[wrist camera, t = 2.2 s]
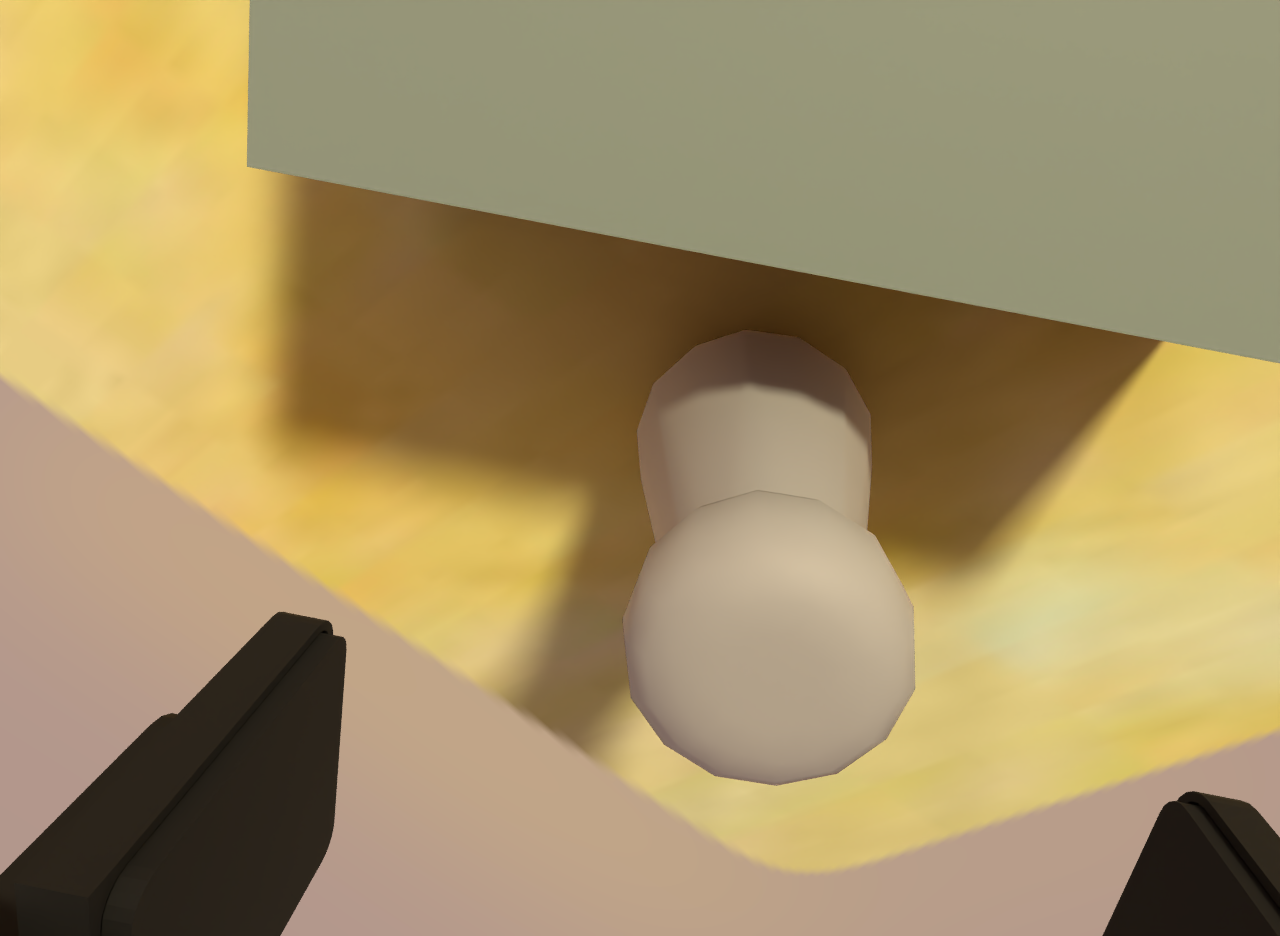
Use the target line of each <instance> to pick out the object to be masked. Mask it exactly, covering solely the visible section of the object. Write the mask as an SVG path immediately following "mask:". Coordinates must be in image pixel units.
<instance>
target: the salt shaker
mask: <svg viewBox="0 0 1280 936" xmlns="http://www.w3.org/2000/svg"><path fill="white" fill-rule="evenodd" d="M637 440H638V451H639V463H640V474H641V482H642V487H643V491H644V495H645V499H646V504H647V508H648V512H649V517H650V521H651V525H652V530H653V534H654V538H655V543H654V544H653V545H652V546H651V547H650V549H649V551H648V554H647V556H646V559H645V562H644V564H643V567H642V569H641V572H640V575H639V577H638V580H637V582H636V585H635V587H634V590H633V593H632V595H631V598H630V600H629V603H628V606H627V608H626V611H625V614H624V616H623V630H624V640H625V649H626V658H627V667H628V676H629V685H630V694H631V699H632V700H633V702H634V703H635V704H636V706H637V707H638V709H639V710H640V711H641V713H642V714H643V716H644V717H645V718H646V720H647V721H648V723H649V724H650V725H651V727H652V728H653V730H654V731H655V733H656V734H657V735H658V737H659V738H660V740H661V741H662V742H663V744H664V745H666V746H667V747H669V748H671V749H672V750H674V751H675V752H677V753H679V754H680V755H682V756H683V757H685V758H687V759H688V760H690V761H692V762H693V763H695V764H696V765H698V766H700V767H701V768H703V769H704V770H706V771H708V772H709V773H711V774H713V775H714V776H718V777H725V778H731V779H737V780H744V781H750V782H756V783H763V784H769V785H776V786H777V785H782V784H787V783H792V782H797V781H802V780H807V779H812V778H817V777H823V776H828V775H833V774H837V773H839V772H840V771H842V770H843V769H844V768H846V767H847V766H849V765H850V764H852V763H853V762H854V761H856V760H857V759H859V758H860V757H861V756H863V755H864V754H866V753H867V752H869V751H870V750H871V749H873V748H874V747H876V746H877V745H879V744H880V743H881V742H883V741H884V740H886V739H887V737H888V735H889V733H890V732H891V730H892V728H893V726H894V725H895V723H896V721H897V720H898V718H899V716H900V714H901V713H902V711H903V709H904V707H905V706H906V704H907V702H908V701H909V699H910V697H911V695H912V694H913V692H914V690H915V651H914V609H913V605H912V603H911V601H910V599H909V597H908V595H907V593H906V591H905V589H904V587H903V585H902V583H901V581H900V579H899V578H898V576H897V574H896V572H895V570H894V569H893V567H892V565H891V563H890V561H889V560H888V558H887V556H886V554H885V553H884V551H883V549H882V547H881V545H880V544H879V542H878V540H877V538H876V536H875V535H874V534H872V533H871V532H869V531H868V530H867V526H868V513H869V500H870V486H871V473H872V445H871V414H870V412H869V410H868V409H867V407H866V405H865V403H864V401H863V399H862V398H861V396H860V394H859V392H858V390H857V389H856V387H855V385H854V383H853V381H852V379H851V378H850V376H849V374H848V372H847V370H846V369H845V368H844V367H842V366H841V365H839V364H838V363H836V362H835V361H833V360H832V359H830V358H829V357H827V356H826V355H824V354H823V353H821V352H820V351H818V350H817V349H815V348H814V347H812V346H811V345H809V344H808V343H806V342H805V341H803V340H802V339H800V338H799V337H795V336H788V335H781V334H774V333H767V332H760V331H753V330H746V329H745V330H742V331H739V332H736V333H733V334H730V335H727V336H724V337H721V338H718V339H714V340H711V341H708V342H705V343H702V344H699V345H696V346H695V347H693V348H692V349H691V350H690V351H689V352H688V353H687V354H685V355H684V356H683V357H682V358H681V359H680V360H679V361H678V362H677V363H676V364H674V365H673V366H672V367H671V368H670V369H669V370H668V371H667V372H666V373H665V374H663V375H662V376H661V377H660V378H659V379H658V380H657V381H656V382H655V383H654V384H653V386H652V389H651V392H650V395H649V398H648V400H647V403H646V406H645V409H644V412H643V415H642V417H641V420H640V423H639V426H638V429H637Z"/></svg>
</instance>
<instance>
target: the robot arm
mask: <svg viewBox="0 0 1280 936" xmlns="http://www.w3.org/2000/svg"><path fill="white" fill-rule="evenodd" d="M345 662H346V641H345V639H344V637H340V636H335V635H333V629H332V624H331V623H330V622H329V621H326V620H321V619H316V618H311V617H306V616H301V615H296V614H291V613H286V612H278V613H277V614H275V615H274V616H273V617H272V618H271V619H270V620H269V621H268V622H267V623H266V624H265V625H264V626H263V627H262V628H261V629H260V630H259V631H258V632H257V633H256V634H255V635H254V636H253V637H252V638H251V639H250V640H249V641H248V642H247V643H246V644H245V645H244V646H243V647H242V648H241V650H240V651H239V652H238V653H237V654H236V655H235V656H234V657H233V658H232V659H231V660H230V661H229V662H228V663H227V664H226V665H225V666H224V667H223V668H222V669H221V670H220V671H219V672H218V673H217V674H216V675H215V676H214V677H213V678H212V679H211V680H210V681H209V683H208V684H207V685H206V686H205V687H204V688H203V689H202V690H201V691H200V692H199V693H198V694H197V695H196V696H195V697H194V698H193V699H192V700H191V701H190V702H189V703H188V704H187V705H186V706H185V707H184V709H182V710H181V712H180V713H178V714H173V713H171V714H167V715H164V716H161V717H160V718H159V719H157V720H156V721H155V722H153V723H152V724H151V725H150V726H149V727H148V728H147V729H146V730H145V731H144V732H143V733H142V734H141V735H140V736H139V737H138V738H137V739H136V740H135V741H134V742H133V743H132V744H131V745H130V746H129V747H128V748H127V749H126V750H125V751H124V752H123V753H122V754H121V755H120V756H119V757H118V758H117V759H116V760H115V761H114V762H113V763H112V764H111V765H110V766H109V767H108V768H107V769H106V770H105V771H104V772H103V773H102V774H101V775H100V776H99V777H98V778H97V779H96V780H95V781H94V782H93V783H92V784H91V785H90V786H89V787H88V788H87V789H86V790H85V791H84V792H83V793H82V794H81V795H80V796H79V797H78V798H77V799H76V800H75V801H74V802H73V803H72V804H71V805H70V806H69V807H68V808H67V809H66V810H65V811H64V812H63V813H62V814H61V815H60V816H59V817H58V818H57V819H56V820H55V821H54V822H53V823H52V824H51V825H50V826H49V827H48V828H47V829H46V830H45V831H44V832H43V833H42V834H41V835H40V836H39V837H38V838H37V839H36V840H35V841H34V842H33V843H32V844H31V845H30V846H29V847H28V848H27V849H26V850H25V851H24V852H23V853H22V854H21V855H20V856H19V857H18V858H17V859H16V860H15V861H14V862H13V863H12V864H11V865H10V866H9V867H8V868H7V869H6V870H5V871H4V872H3V873H2V874H1V875H0V936H280V935H281V934H282V932H283V930H284V928H285V926H286V925H287V923H288V921H289V919H290V918H291V916H292V914H293V912H294V910H295V909H296V907H297V905H298V903H299V901H300V900H301V898H302V896H303V894H304V893H305V891H306V889H307V887H308V885H309V884H310V882H311V880H312V878H313V876H314V875H315V873H316V871H317V869H318V868H319V866H320V864H321V862H322V860H323V858H324V856H325V854H326V852H327V849H328V846H329V843H330V840H331V837H332V832H333V827H334V817H335V803H336V789H337V774H338V761H339V746H340V732H341V718H342V703H343V690H344V689H343V688H344V676H345ZM1103 936H1280V837H1279V836H1278V835H1277V834H1276V833H1275V831H1274V830H1273V829H1272V828H1271V827H1270V826H1269V824H1268V823H1267V822H1266V821H1265V819H1264V818H1263V817H1262V816H1261V815H1260V814H1259V812H1258V811H1257V810H1256V809H1255V808H1253V807H1252V806H1251V805H1250V804H1249V803H1246V802H1243V801H1240V800H1235V799H1230V798H1225V797H1220V796H1214V795H1210V794H1204V793H1199V792H1194V791H1192V792H1186V793H1185V794H1183V795H1182V796H1181V797H1179V799H1178V800H1177V801H1172V802H1168V803H1167V804H1166V805H1165V806H1164V807H1163V808H1162V810H1161V812H1160V814H1159V816H1158V818H1157V820H1156V822H1155V824H1154V827H1153V829H1152V831H1151V833H1150V835H1149V837H1148V840H1147V842H1146V844H1145V846H1144V848H1143V850H1142V853H1141V855H1140V857H1139V859H1138V861H1137V863H1136V865H1135V867H1134V869H1133V872H1132V874H1131V876H1130V878H1129V880H1128V882H1127V885H1126V887H1125V889H1124V891H1123V893H1122V895H1121V897H1120V900H1119V902H1118V904H1117V906H1116V908H1115V910H1114V912H1113V915H1112V917H1111V919H1110V921H1109V923H1108V925H1107V927H1106V930H1105V932H1104V934H1103Z"/></svg>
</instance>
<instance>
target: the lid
mask: <svg viewBox="0 0 1280 936" xmlns="http://www.w3.org/2000/svg"><path fill="white" fill-rule="evenodd" d="M247 167H252V168H257V169H262V170H267V171H273V172H278V173H283V174H288V175H294V176H299V177H304V178H309V179H315V180H320V181H325V182H330V183H336V184H341V185H346V186H351V187H357V188H362V189H367V190H372V191H378V192H383V193H388V194H394V195H399V196H404V197H409V198H415V199H420V200H425V201H430V202H436V203H441V204H446V205H451V206H457V207H462V208H467V209H472V210H478V211H483V212H488V213H493V214H499V215H504V216H509V217H514V218H520V219H525V220H530V221H535V222H541V223H546V224H551V225H556V226H562V227H567V228H572V229H577V230H583V231H588V232H593V233H598V234H604V235H609V236H614V237H619V238H625V239H630V240H635V241H640V242H646V243H651V244H656V245H661V246H667V247H672V248H677V249H682V250H688V251H693V252H698V253H703V254H709V255H714V256H719V257H724V258H730V259H735V260H740V261H745V262H751V263H756V264H761V265H766V266H772V267H777V268H782V269H787V270H793V271H798V272H803V273H808V274H814V275H819V276H824V277H829V278H835V279H840V280H845V281H850V282H856V283H861V284H866V285H871V286H877V287H882V288H887V289H892V290H898V291H903V292H908V293H913V294H919V295H924V296H929V297H934V298H940V299H945V300H950V301H955V302H961V303H966V304H971V305H976V306H982V307H987V308H992V309H997V310H1003V311H1008V312H1013V313H1018V314H1024V315H1029V316H1034V317H1039V318H1045V319H1050V320H1055V321H1061V322H1066V323H1071V324H1076V325H1082V326H1087V327H1092V328H1097V329H1103V330H1108V331H1113V332H1118V333H1124V334H1129V335H1134V336H1139V337H1145V338H1150V339H1155V340H1160V341H1166V342H1171V343H1176V344H1181V345H1187V346H1192V347H1197V348H1202V349H1208V350H1213V351H1218V352H1223V353H1229V354H1234V355H1239V356H1244V357H1250V358H1255V359H1260V360H1265V361H1271V362H1276V363H1280V0H250V21H249V80H248V138H247Z"/></svg>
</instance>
